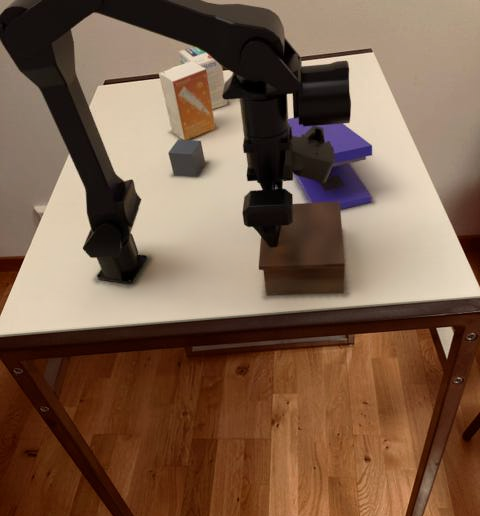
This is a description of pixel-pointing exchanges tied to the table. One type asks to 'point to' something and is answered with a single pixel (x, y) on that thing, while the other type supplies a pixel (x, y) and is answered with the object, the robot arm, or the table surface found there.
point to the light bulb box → (212, 70)
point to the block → (187, 157)
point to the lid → (307, 239)
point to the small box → (188, 100)
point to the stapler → (337, 167)
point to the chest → (304, 281)
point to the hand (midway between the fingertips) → (274, 226)
